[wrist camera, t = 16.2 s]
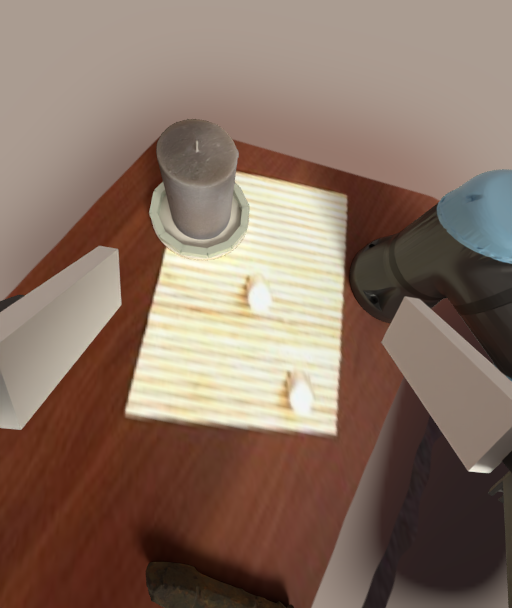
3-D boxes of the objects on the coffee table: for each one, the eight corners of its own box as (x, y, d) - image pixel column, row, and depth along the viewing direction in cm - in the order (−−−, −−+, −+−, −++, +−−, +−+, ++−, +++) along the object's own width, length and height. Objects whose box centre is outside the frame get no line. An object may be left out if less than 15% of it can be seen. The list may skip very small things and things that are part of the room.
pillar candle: (167, 191, 46) (146, 110, 32) (224, 185, 48) (230, 106, 34) (177, 245, 44) (159, 183, 30) (236, 236, 46) (247, 175, 32)
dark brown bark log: (294, 599, 36) (306, 630, 31) (282, 637, 35) (292, 675, 30) (161, 535, 35) (154, 558, 31) (144, 571, 34) (134, 600, 30)
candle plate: (252, 184, 50) (253, 177, 48) (243, 266, 46) (245, 262, 44) (161, 168, 48) (159, 159, 46) (143, 252, 44) (140, 246, 42)
